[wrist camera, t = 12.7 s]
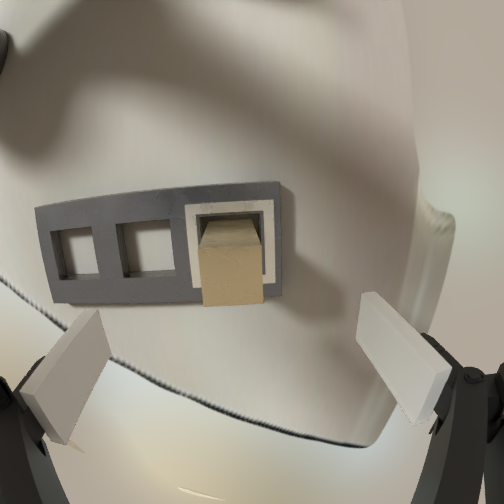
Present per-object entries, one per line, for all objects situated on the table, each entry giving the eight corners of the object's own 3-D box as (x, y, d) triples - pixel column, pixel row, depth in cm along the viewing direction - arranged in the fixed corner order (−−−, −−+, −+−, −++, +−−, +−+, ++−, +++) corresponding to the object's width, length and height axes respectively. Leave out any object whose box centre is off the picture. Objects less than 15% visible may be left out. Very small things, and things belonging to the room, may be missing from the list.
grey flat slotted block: (61, 296, 32) (52, 304, 29) (43, 205, 28) (33, 208, 26) (278, 288, 33) (282, 297, 31) (276, 181, 30) (280, 182, 27)
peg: (212, 261, 32) (203, 306, 21) (208, 221, 30) (197, 249, 20) (252, 258, 32) (263, 303, 21) (250, 218, 31) (261, 245, 20)
